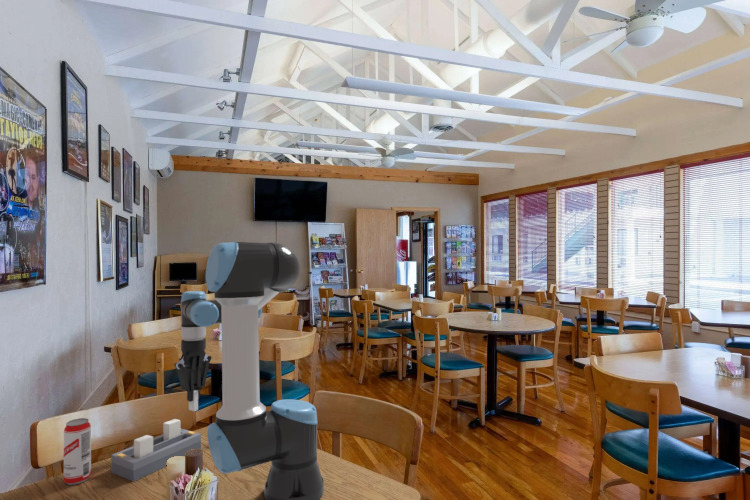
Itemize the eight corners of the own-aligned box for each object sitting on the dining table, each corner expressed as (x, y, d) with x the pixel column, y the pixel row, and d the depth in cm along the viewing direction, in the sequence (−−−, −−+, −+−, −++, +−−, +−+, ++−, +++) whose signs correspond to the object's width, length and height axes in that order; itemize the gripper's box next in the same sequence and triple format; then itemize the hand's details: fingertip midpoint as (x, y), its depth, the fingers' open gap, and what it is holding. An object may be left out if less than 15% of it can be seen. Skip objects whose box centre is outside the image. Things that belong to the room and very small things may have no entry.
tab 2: (180, 439, 140) (180, 420, 140) (169, 444, 136) (169, 424, 136) (174, 437, 141) (174, 418, 141) (163, 442, 138) (163, 422, 138)
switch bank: (200, 450, 140) (200, 433, 140) (133, 481, 121) (133, 462, 121) (179, 443, 145) (179, 426, 145) (111, 472, 126) (111, 453, 126)
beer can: (77, 487, 118) (77, 426, 118) (57, 484, 119) (57, 425, 119) (96, 475, 124) (96, 418, 124) (77, 473, 125) (77, 416, 125)
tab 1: (153, 457, 128) (153, 436, 128) (139, 463, 124) (139, 441, 124) (147, 455, 129) (147, 434, 129) (133, 461, 125) (133, 439, 125)
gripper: (202, 333, 153) (202, 401, 154) (168, 340, 142) (168, 414, 142) (217, 336, 150) (217, 405, 150) (184, 343, 138) (183, 418, 139)
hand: (193, 409), depth 146 cm, fingers closed
